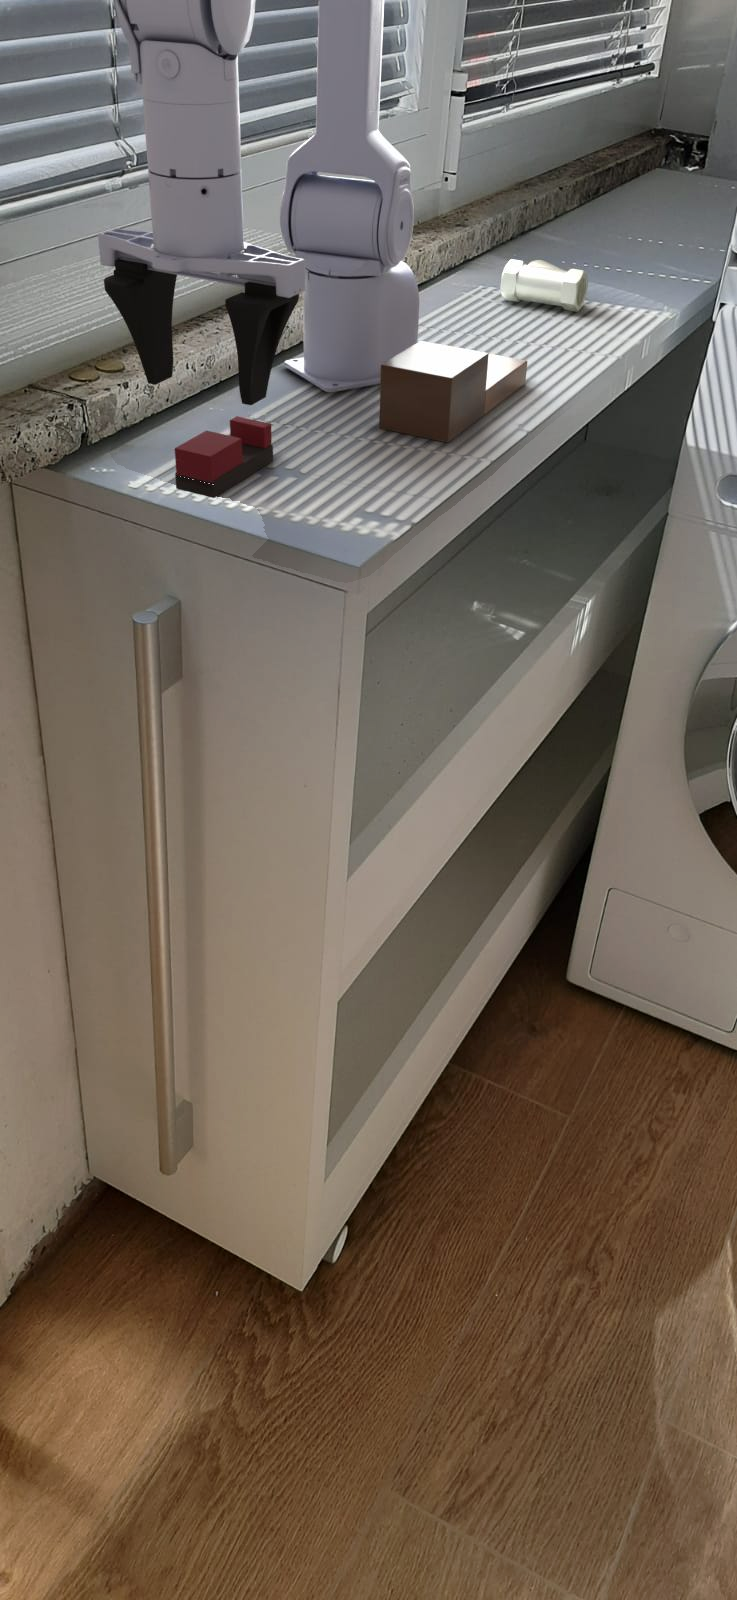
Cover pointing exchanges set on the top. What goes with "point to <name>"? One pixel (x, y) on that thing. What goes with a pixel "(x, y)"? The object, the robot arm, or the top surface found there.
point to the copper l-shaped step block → (444, 389)
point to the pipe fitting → (544, 284)
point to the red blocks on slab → (223, 457)
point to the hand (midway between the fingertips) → (206, 390)
